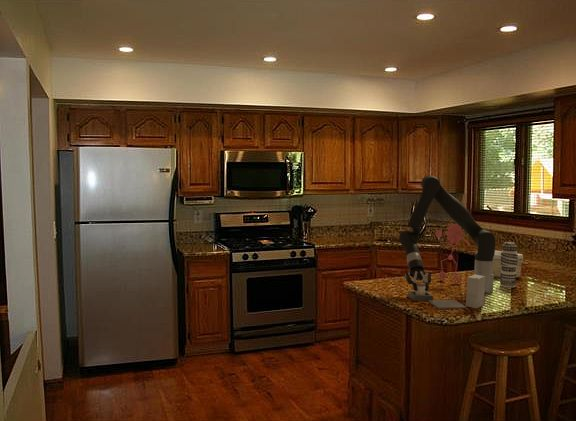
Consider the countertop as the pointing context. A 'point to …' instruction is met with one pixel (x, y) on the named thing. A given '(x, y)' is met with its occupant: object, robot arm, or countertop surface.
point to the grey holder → (420, 296)
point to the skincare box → (475, 291)
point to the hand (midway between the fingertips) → (421, 290)
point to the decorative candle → (508, 264)
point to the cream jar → (420, 288)
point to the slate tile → (446, 304)
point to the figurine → (453, 236)
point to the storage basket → (498, 267)
